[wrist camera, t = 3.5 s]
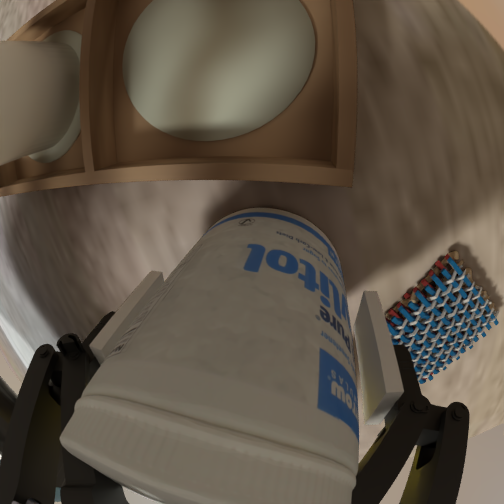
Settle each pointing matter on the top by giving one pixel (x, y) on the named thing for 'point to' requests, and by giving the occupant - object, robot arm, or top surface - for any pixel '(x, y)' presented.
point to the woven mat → (441, 318)
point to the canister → (36, 96)
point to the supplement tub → (232, 376)
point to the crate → (200, 93)
